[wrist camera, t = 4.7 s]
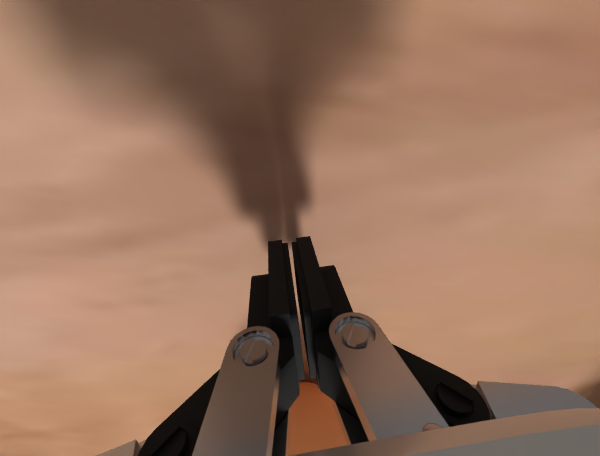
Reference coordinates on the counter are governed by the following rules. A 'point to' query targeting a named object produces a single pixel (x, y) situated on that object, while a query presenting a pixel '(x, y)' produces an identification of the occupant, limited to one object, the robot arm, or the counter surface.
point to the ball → (313, 422)
